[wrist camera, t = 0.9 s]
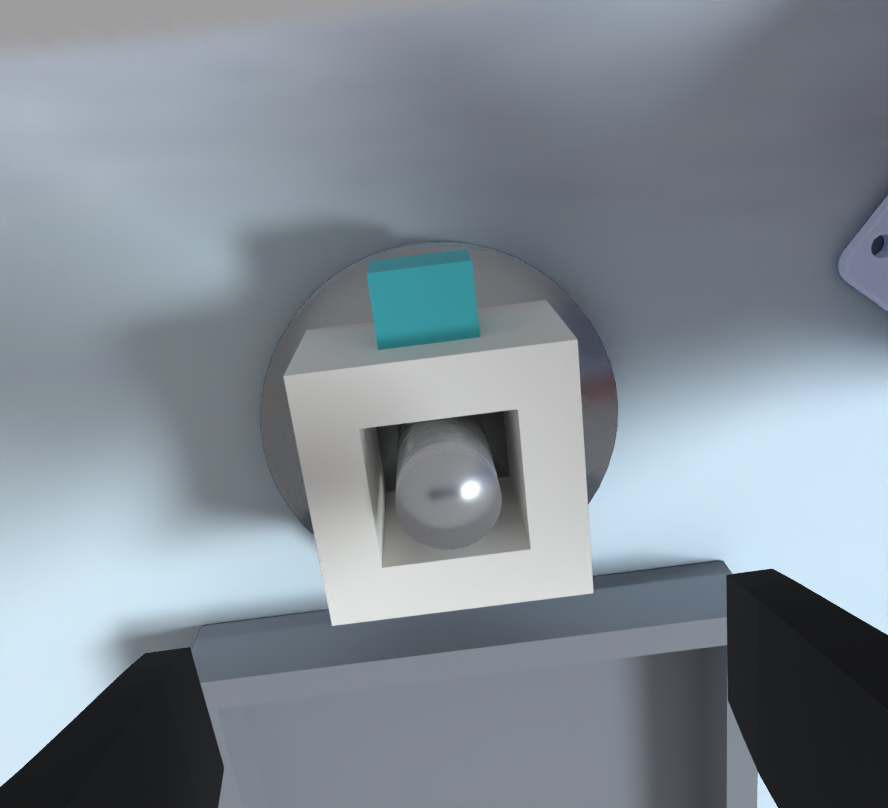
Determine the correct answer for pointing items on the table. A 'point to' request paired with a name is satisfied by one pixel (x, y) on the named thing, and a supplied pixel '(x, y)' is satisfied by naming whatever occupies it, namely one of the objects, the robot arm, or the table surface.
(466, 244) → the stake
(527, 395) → the collar
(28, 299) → the table surface
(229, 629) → the tray
